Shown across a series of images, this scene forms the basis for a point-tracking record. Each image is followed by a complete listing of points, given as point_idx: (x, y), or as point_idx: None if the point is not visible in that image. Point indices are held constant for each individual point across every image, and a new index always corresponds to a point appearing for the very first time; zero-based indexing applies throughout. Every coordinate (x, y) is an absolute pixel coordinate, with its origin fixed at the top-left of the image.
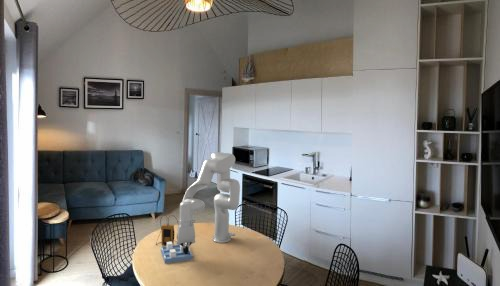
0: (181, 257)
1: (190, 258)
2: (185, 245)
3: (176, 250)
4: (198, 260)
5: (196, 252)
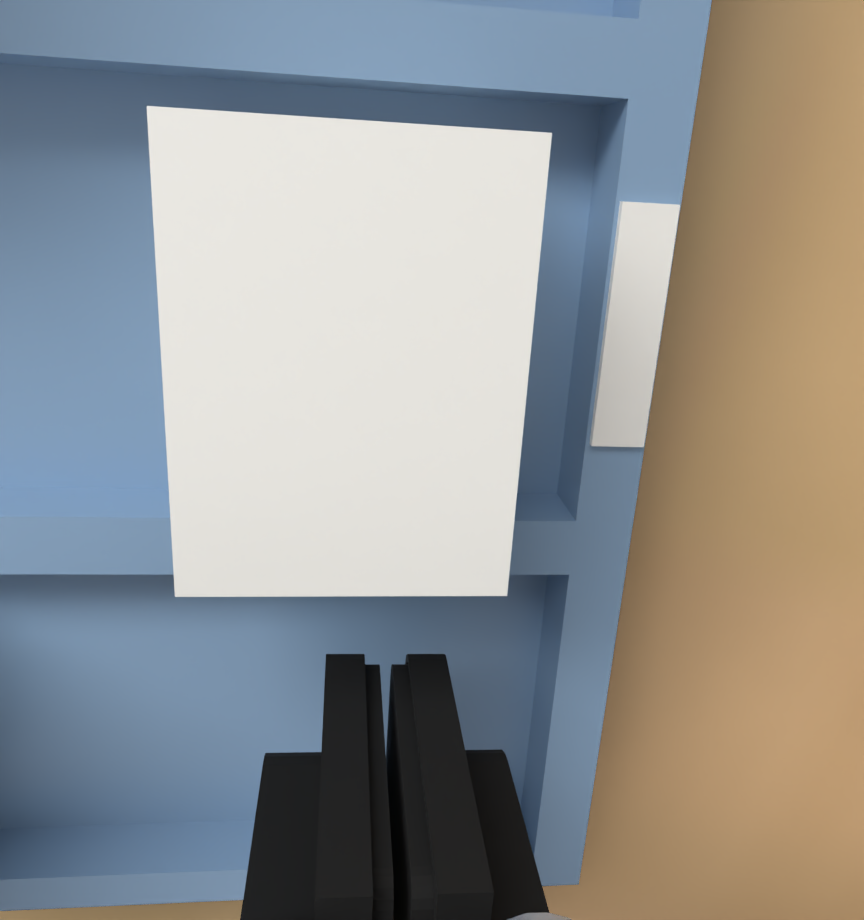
0: (167, 885)
1: None
2: (487, 494)
3: (43, 65)
4: (668, 859)
5: (859, 317)
